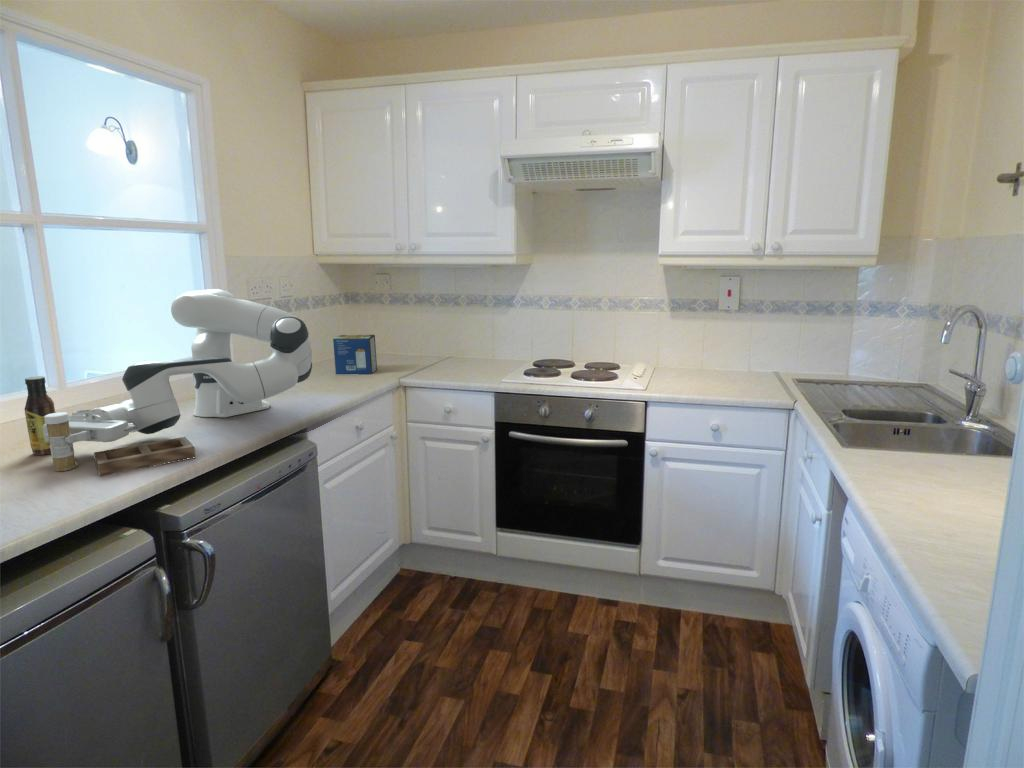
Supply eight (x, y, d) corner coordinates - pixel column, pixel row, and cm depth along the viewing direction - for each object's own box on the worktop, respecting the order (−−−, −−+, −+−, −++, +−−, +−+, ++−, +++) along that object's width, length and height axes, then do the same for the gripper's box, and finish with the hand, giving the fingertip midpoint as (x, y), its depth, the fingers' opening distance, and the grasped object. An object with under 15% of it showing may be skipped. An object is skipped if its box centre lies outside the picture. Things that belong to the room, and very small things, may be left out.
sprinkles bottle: (61, 465, 150) (51, 412, 147) (81, 465, 150) (72, 411, 148) (49, 472, 145) (39, 416, 143) (69, 471, 146) (60, 416, 143)
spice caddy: (186, 447, 163) (185, 436, 162) (195, 457, 154) (194, 446, 153) (95, 464, 151) (93, 452, 150) (100, 476, 142) (98, 463, 142)
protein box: (342, 370, 270) (339, 334, 267) (377, 369, 270) (375, 334, 266) (334, 374, 260) (332, 338, 257) (371, 374, 259) (368, 337, 256)
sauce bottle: (30, 452, 161) (16, 377, 157) (59, 447, 165) (46, 373, 161) (34, 458, 156) (20, 380, 152) (64, 452, 161) (51, 377, 157)
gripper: (142, 437, 157) (95, 454, 144) (75, 434, 162) (24, 450, 148) (138, 413, 156) (91, 428, 143) (71, 410, 160) (19, 424, 147)
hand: (56, 439), depth 146 cm, fingers closed on sprinkles bottle, 4 cm apart
